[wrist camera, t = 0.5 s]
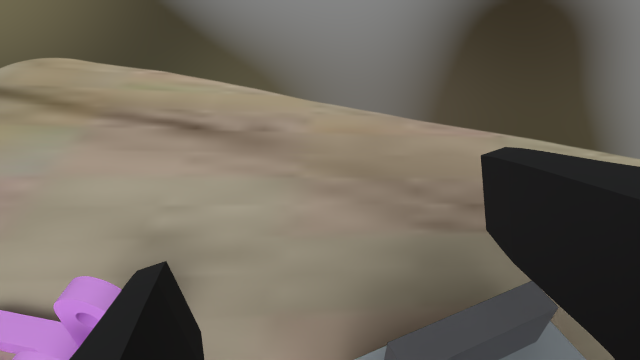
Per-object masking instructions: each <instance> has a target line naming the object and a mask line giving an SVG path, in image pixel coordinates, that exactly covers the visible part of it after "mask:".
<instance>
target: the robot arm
mask: <svg viewBox="0 0 640 360" xmlns="http://www.w3.org/2000/svg"><path fill="white" fill-rule="evenodd" d="M481 164H482V178H483V191H484V205H485V218H486V230H487V231H488V232H489V234H490V235H491V236H492V238H493V239H494V240H495V241H496V243H497V244H498V245H499V246H500V248H501V249H502V250H503V251H504V252H505V254H506V255H507V256H508V257H509V258H510V259H511V261H512V262H513V263H514V264H515V265H516V266H517V267H518V268H519V269H520V270H521V271H523V272H524V273H525V274H526V275H527V276H528V277H529V278H530V279H531V280H532V281H533V282H534V283H535V284H536V285H538V286H539V287H540V288H541V289H542V290H543V291H544V292H545V293H546V294H547V295H548V296H550V297H551V298H552V299H553V300H554V301H555V302H556V303H557V304H558V305H559V306H560V307H562V308H563V309H564V310H565V311H566V312H567V313H568V314H569V315H570V316H571V317H572V318H574V319H575V320H576V321H577V322H578V323H579V324H580V325H581V326H582V327H583V328H584V329H586V330H587V331H588V332H589V333H590V334H591V335H592V336H593V337H594V338H595V339H596V340H597V341H598V342H599V343H600V344H601V345H602V346H603V347H604V348H605V349H606V350H607V351H608V352H609V353H610V354H611V355H612V356H613V357H614V359H615V360H640V167H637V166H630V165H624V164H617V163H610V162H604V161H598V160H592V159H586V158H580V157H574V156H568V155H562V154H556V153H550V152H544V151H537V150H531V149H523V148H511V147H504V148H501V149H498V150H495V151H492V152H489V153H487V154H484V155H481ZM69 360H204V353H203V345H202V336H201V331H200V329H199V327H198V325H197V323H196V321H195V319H194V317H193V315H192V313H191V310H190V308H189V306H188V304H187V302H186V300H185V298H184V296H183V294H182V292H181V290H180V288H179V286H178V284H177V282H176V280H175V278H174V276H173V274H172V272H171V270H170V268H169V266H168V264H167V262H166V261H165V262H162V263H159V264H156V265H153V266H150V267H147V268H144V269H141V270H138V271H137V272H136V273H135V274H134V275H133V276H132V277H131V279H130V280H129V281H128V282H127V284H126V285H125V286H124V288H123V289H122V290H121V292H120V293H119V294H118V296H117V297H116V299H115V300H114V301H113V303H112V304H111V305H110V307H109V308H108V309H107V311H106V312H105V314H104V315H103V316H102V318H101V319H100V320H99V322H98V323H97V324H96V326H95V327H94V328H93V330H92V331H91V332H90V334H89V335H88V336H87V338H86V339H85V340H84V342H83V343H82V344H81V346H80V347H79V348H78V349H77V351H76V352H75V353H74V354H73V355H72V357H71V358H70V359H69Z"/></svg>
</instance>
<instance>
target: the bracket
mask: <svg viewBox="0 0 640 360" xmlns="http://www.w3.org/2000/svg"><path fill="white" fill-rule="evenodd" d="M120 292H121V289H120V288H118V287H117V286H115V285H113V284H111V283H109V282H107V281H104V280H101V279H98V278H94V277H87V276H81V277H76V278H74V279H73V280H72V281H71V282H70V283H69V285H68V286H67V287H66V289H65V290H64V291H63V293H62V294H61V295H60V297H59V298H58V299H57V301H56V302H55V304H54V311H55V313H56V315H57V316H58V318H59V319H60V321H61V322H58V321H53V320H48V319H43V318H38V317H33V316H28V315H22V314H17V313H12V312H7V311H2V310H0V350H1V351H6V352H10V353H15V354H16V355H15V357H14V358H13V359H12V360H69V359H70V358H71V357H72V355H73V354H74V353H75V352H76V351H77V349H78V348H79V347H80V346H81V344H82V343H83V342H84V340H85V339H86V338H87V336H88V335H89V334H90V332H91V331H92V330H93V328H94V327H95V326H96V324H97V323H98V322H99V320H100V319H101V318H102V316H103V315H104V314H105V312H106V311H107V309H108V308H109V307H110V305H111V304H112V303H113V301H114V300H115V299H116V297H117V296H118V294H119V293H120Z"/></svg>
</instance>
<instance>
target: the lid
mask: <svg viewBox="0 0 640 360" xmlns="http://www.w3.org/2000/svg"><path fill="white" fill-rule="evenodd" d="M557 309H558V306H557V305H556V304H555V303H554V302H553V301H552V300H551V299H550V298H549V297H548V296H547V295H546V294H545V293H544V292H543V291H542V290H541V289H540V288H539V287H538V286H537V285H536V284H535V283H534V282H533V281H530V282H528V283H526V284H523V285H521V286H519V287H516V288H514V289H512V290H509V291H507V292H505V293H502V294H500V295H498V296H495V297H493V298H491V299H488V300H486V301H484V302H481V303H479V304H477V305H474V306H472V307H470V308H467V309H465V310H463V311H460V312H458V313H456V314H453V315H451V316H449V317H446V318H444V319H442V320H439V321H437V322H435V323H432V324H430V325H428V326H425V327H423V328H421V329H418V330H416V331H414V332H411V333H409V334H407V335H404V336H402V337H400V338H397V339H395V340H393V341H390V342H388V343H387V346H384V347H382V348H380V349H377V350H375V351H373V352H370V353H368V354H366V355H363V356H361V357H359V358H357V359H354V360H586V359H585V358H584V357H583V356H582V355H581V354H580V352H579V351H578V350H577V349H576V348H575V347H574V346H573V345H572V344H571V343H570V342H569V341H568V339H567V338H566V337H565V336H564V335H563V334H562V333H561V332H560V331H559V330H558V329H557V328H556V327H555V325H554V324H553V323H552V322H551V321H550V320H551V318H552V317H553V315H554V314H555V312H556V310H557Z"/></svg>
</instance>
